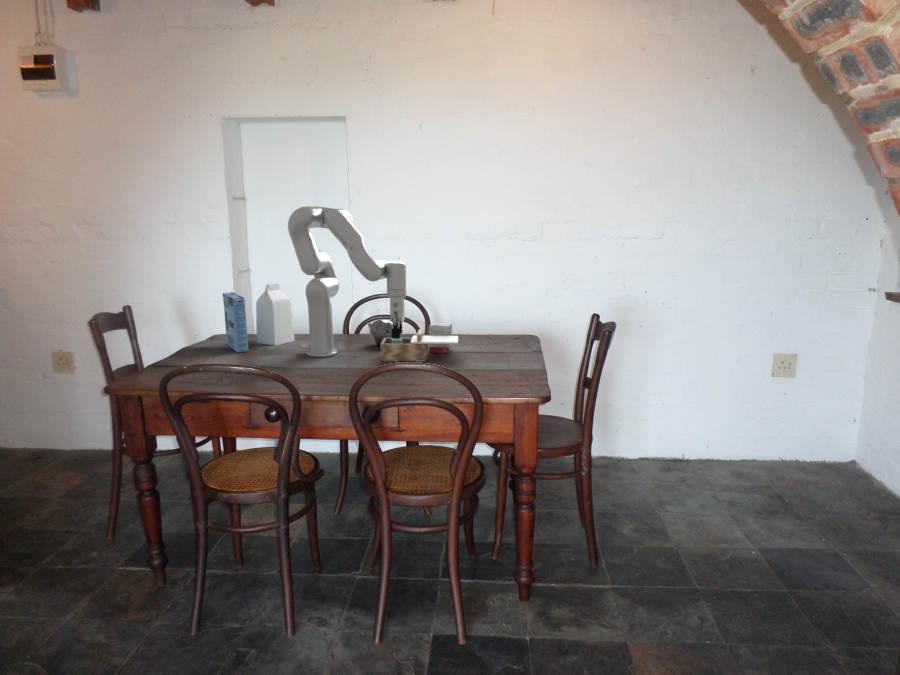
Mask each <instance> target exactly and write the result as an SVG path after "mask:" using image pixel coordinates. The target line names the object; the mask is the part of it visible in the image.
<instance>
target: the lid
mask: <svg viewBox="0 0 900 675" xmlns="http://www.w3.org/2000/svg"><path fill="white" fill-rule="evenodd" d="M411 338H412V339H411V344H428V345H429V344H452V345H458V344H459V335H452V336H429V335H424V330H423V329H418V330H417V334H416V335H415V334H414V335H412V337H411Z"/></svg>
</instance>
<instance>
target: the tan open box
mask: <svg viewBox="0 0 900 675" xmlns="http://www.w3.org/2000/svg"><path fill="white" fill-rule="evenodd" d="M401 338H402V342H403V344H392V338H384V339H383V341H382V342H381V344H380V345H379V346H380V361H381V360H385V361H384V362H400V361H416V360H424V361H416V362H417V363H419V362H421V363H422V362H423V363H424V362H425V363H427V361H426V360H428V355H429V344H411V339H412V337H401ZM394 360H398V361H394ZM400 363H401V362H400Z"/></svg>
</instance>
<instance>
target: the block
mask: <svg viewBox="0 0 900 675" xmlns="http://www.w3.org/2000/svg"><path fill="white" fill-rule="evenodd" d="M402 338H403V337H400V338H392V344H403V342H402Z"/></svg>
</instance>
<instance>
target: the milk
mask: <svg viewBox="0 0 900 675" xmlns="http://www.w3.org/2000/svg"><path fill="white" fill-rule="evenodd" d="M255 310H256V311H255V317H256V321H255V322H256V326H255V327H256V343H257V344H263V345H270V346H279V345H282V344H285V343H290V342H295V341H296V339H295V331H294V329H295V328H294V322H293V313H292V312H293V311H292V304H291V299H290V298H289V297H288V296H287V295H286V293H285V292H284V291H283V290H282V289H281V287H280V284H279V283H271V284H270V283H269V284H266V286H265V289H264V292H263V293H262V294H261V295H260V296H259V297H258V298H257V300H256V304H255Z"/></svg>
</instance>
